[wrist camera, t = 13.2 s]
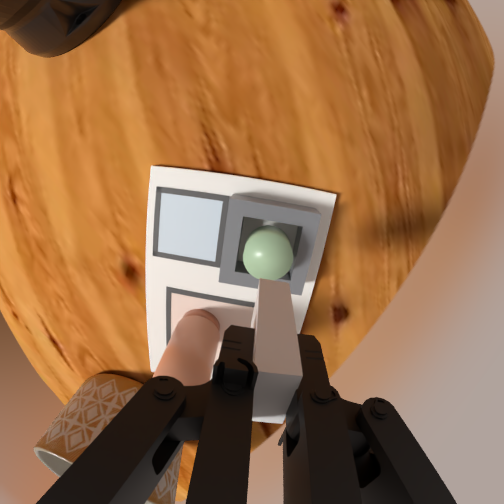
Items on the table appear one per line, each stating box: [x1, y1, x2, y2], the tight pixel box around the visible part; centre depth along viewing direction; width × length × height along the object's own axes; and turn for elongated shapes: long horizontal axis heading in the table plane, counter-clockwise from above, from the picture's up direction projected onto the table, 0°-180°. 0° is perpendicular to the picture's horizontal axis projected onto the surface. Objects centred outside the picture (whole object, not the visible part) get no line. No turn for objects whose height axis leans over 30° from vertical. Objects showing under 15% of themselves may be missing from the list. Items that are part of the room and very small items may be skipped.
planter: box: [34, 374, 183, 504], centre depth 27 cm, size 19×19×16 cm
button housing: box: [218, 194, 322, 295], centre depth 23 cm, size 7×7×2 cm
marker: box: [152, 309, 220, 386], centre depth 22 cm, size 4×4×12 cm
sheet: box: [146, 166, 336, 380], centre depth 26 cm, size 16×24×1 cm, turn 171°
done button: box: [243, 225, 293, 280], centre depth 21 cm, size 4×4×2 cm
